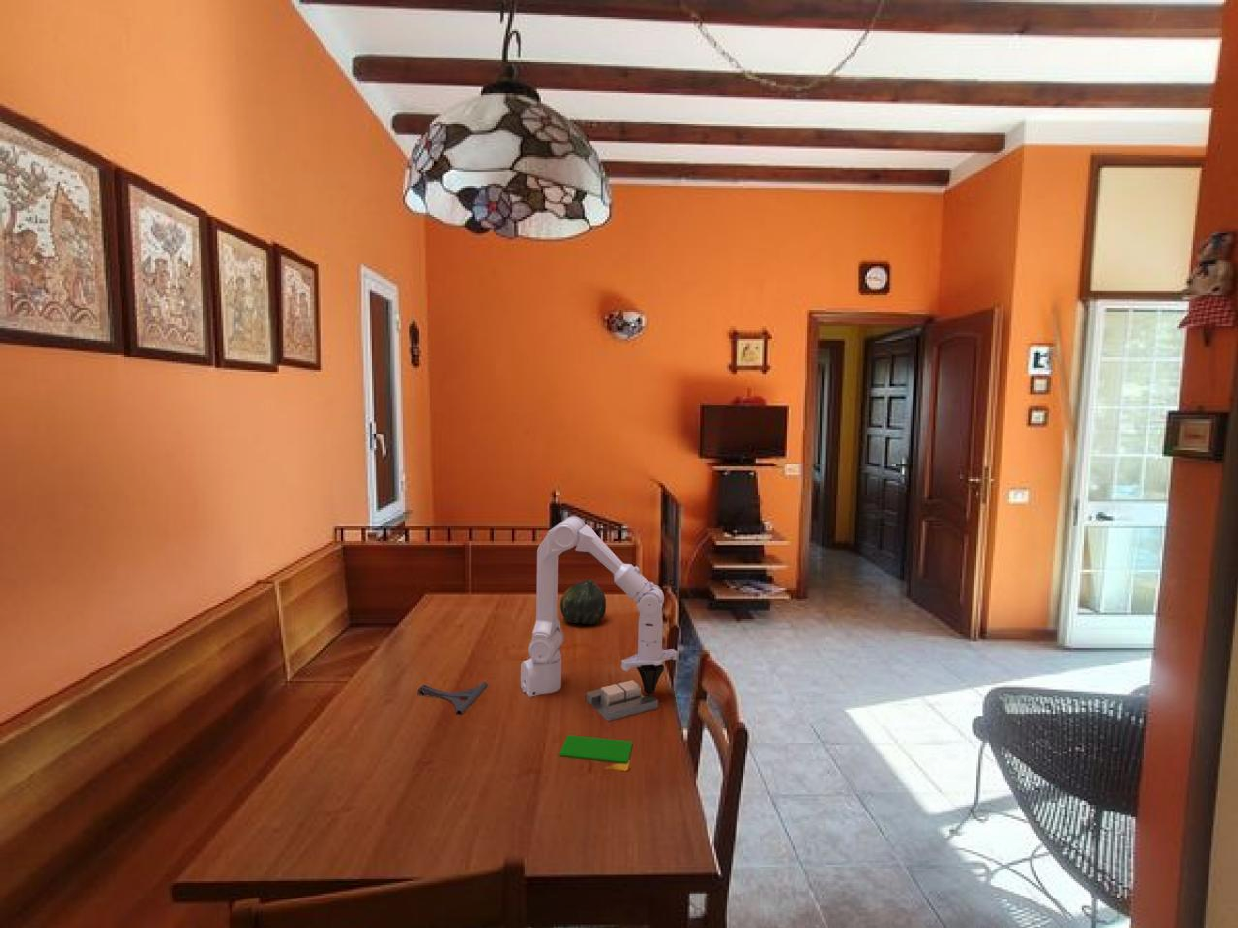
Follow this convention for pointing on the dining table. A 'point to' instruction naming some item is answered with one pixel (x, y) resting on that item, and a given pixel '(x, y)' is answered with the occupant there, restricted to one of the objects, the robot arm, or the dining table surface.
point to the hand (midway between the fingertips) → (649, 692)
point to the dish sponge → (598, 750)
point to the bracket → (456, 696)
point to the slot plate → (621, 705)
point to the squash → (583, 603)
